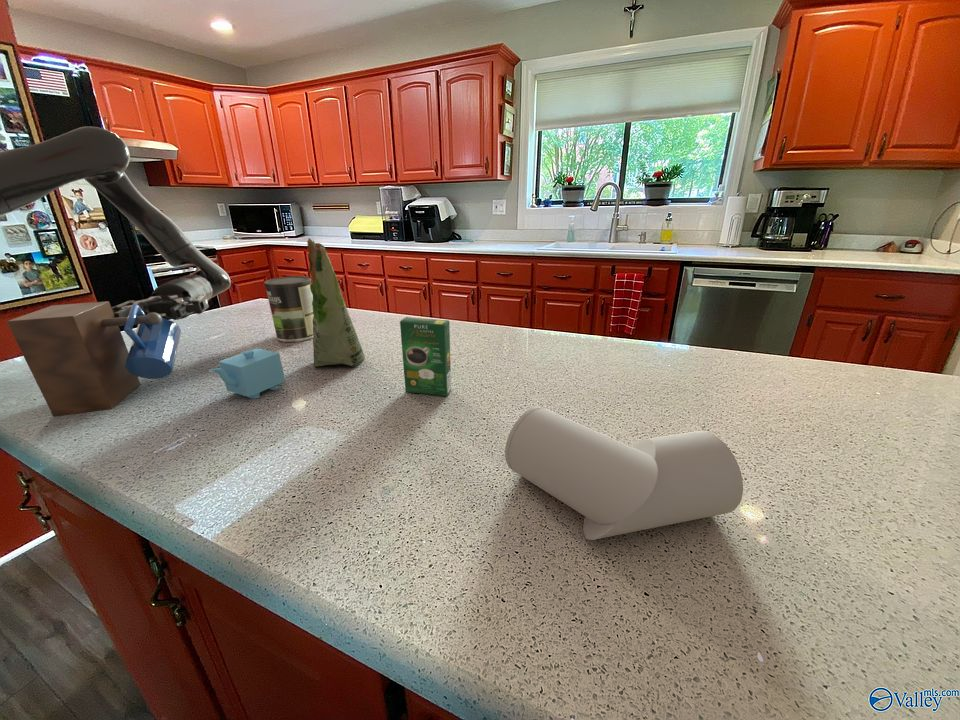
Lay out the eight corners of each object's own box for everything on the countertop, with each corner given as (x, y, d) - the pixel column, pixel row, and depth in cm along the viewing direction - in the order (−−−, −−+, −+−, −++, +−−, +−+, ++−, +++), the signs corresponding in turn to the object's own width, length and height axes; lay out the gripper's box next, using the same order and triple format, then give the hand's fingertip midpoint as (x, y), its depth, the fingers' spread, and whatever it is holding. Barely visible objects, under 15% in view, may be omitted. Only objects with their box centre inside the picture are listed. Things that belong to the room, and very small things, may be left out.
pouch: (346, 375, 76) (324, 241, 67) (295, 369, 80) (267, 240, 70) (376, 355, 86) (361, 235, 77) (330, 350, 90) (309, 235, 80)
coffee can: (287, 345, 93) (274, 286, 88) (270, 336, 100) (256, 280, 94) (328, 334, 100) (318, 278, 95) (309, 327, 107) (299, 274, 101)
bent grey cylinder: (550, 582, 33) (753, 538, 37) (546, 464, 31) (759, 430, 35) (498, 485, 50) (640, 461, 54) (493, 405, 48) (640, 386, 52)
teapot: (231, 411, 64) (218, 368, 61) (209, 403, 67) (195, 362, 64) (293, 382, 74) (285, 344, 71) (271, 376, 77) (263, 340, 74)
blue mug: (137, 381, 72) (149, 341, 77) (178, 376, 73) (187, 337, 79) (98, 340, 63) (114, 299, 68) (145, 336, 64) (157, 295, 70)
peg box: (53, 416, 64) (6, 321, 58) (89, 390, 73) (52, 305, 67) (168, 401, 68) (136, 310, 62) (190, 378, 77) (163, 297, 71)
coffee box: (454, 390, 70) (450, 318, 65) (448, 397, 67) (444, 323, 62) (411, 386, 72) (404, 316, 67) (404, 393, 69) (397, 320, 64)
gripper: (136, 282, 82) (90, 300, 68) (213, 277, 86) (185, 293, 72) (148, 317, 85) (106, 341, 71) (222, 311, 89) (197, 332, 74)
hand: (146, 316), depth 71 cm, fingers open, 8 cm apart
